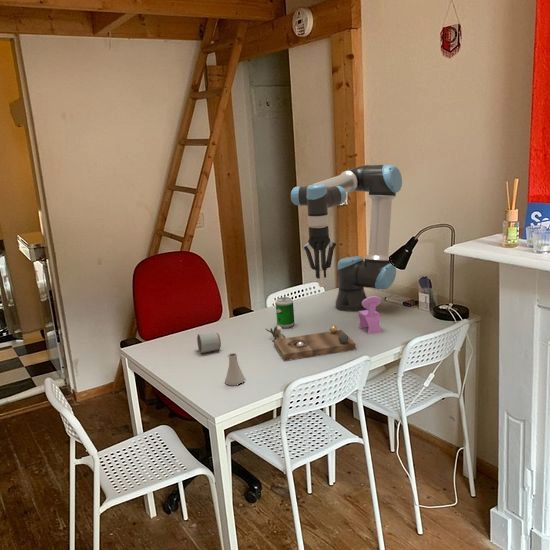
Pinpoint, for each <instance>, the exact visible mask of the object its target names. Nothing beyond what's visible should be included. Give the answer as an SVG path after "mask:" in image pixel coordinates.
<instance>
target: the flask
mask: <svg viewBox="0 0 550 550" xmlns="http://www.w3.org/2000/svg"><path fill="white" fill-rule="evenodd" d="M227 357H228V360H229V361H228V367H227V373H226V377H225V379H224V384H226V385H227V384H228V385H231V386H238V385H237V384H240V383H243V382H244V380H245V381H246V377H245V375H244V374H243V372H242V369H241V367H240V365H239V361H238V353H236V352H231V353H228V354H227ZM244 383H245V382H244ZM244 383H243V384H244ZM228 385H227V386H228ZM240 385H241V384H240Z"/></svg>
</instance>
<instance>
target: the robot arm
mask: <svg viewBox="0 0 550 550" xmlns="http://www.w3.org/2000/svg"><path fill="white" fill-rule="evenodd" d="M402 176H403V175H402V173H401V171H400V169H399V168H398V166H396V165H393V164H373V165H372V164H371V165H370V164H365V165H360V166H356V167H353V168H350V169H347V170H345V171H341V173H340V174H339V175H336V176H334V177H330V178H327V179H324V180H321V181H319V182H315V183H311V184H308V185H304V186H302V185H298V186H295V187H293V188H292V190H291V192H290V200H291V202H292V204H293V205H295V206H299V207H302V206H306V207H307V220H308V221H307V222H308V224H307V225H308V226H309V227H308V240H307V243H306V244H303V245H302V248H303V250H304V251H305V254H306V257H307V262H308V264H309V266H310V269H312V270H314V272H315V278H316V279H317V281H318V286H319V287H320V288H324V287H325V278H327V270H328V269H330V268H331V267H332V261H333V260H332V259H333V254H334V249H335V247H336V246H337V243H336V242H335V241H332V240H331V239H330V232H329V226H328V225H329V213H328V209H329V208H333V207H338V206H340V205H343V203H345V202H346V200H347V193H353V192H364V193H365V192H366V193H367V192H368V197H369V198H370V199H371V211H370V213H371V214H370V224H369V225H370V226H369V241H368V242H369V244H368V254H367V255H366V256H365V257H363V256H360V255H358V256H357V255H356V256H350V257H349V256H347V257H343V258H341V259H339V260H338V262H337V280H338V281H337V282H338V291H337V296H336V299H335V308H336V309H337V310H339V311H344V312H359V311H364V310H367V309H366V308H364V307H363V306H362V301H363V300H364V299H366V298H368V297H367V294H366V291H365V288H369V289H376V290H388V289H390V287H392V285H393V283H394V281H395V279H396V276H397V269H396V268H397V267H396V266H395V267H394V266H393V265H394V264H393V263H392V262H391V263H392V264H393V265H392V264H391V263H390V262H389V257H390V256H389V251H390V250H389V249H390V236H391V235H390V234H391V232H390V231H391V220H392V219H391V218H392V203H393V200H394V199H395V198H396V196H397V193H399V192H400V191H401V189H402V185H403V177H402ZM327 247H328V249H327ZM311 248H312V250H313V254H314V255H313V256H314V257H313V256H312V252H311V251H310V249H311ZM326 249H327V250H328V251H327V250H326ZM326 252H327V255H326ZM313 259H314V260H313Z"/></svg>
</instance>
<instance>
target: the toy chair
mask: <svg viewBox="0 0 550 550" xmlns="http://www.w3.org/2000/svg"><path fill="white" fill-rule="evenodd" d="M381 301H382V300H381V297H379V296H377V295H375V296H374V295H372V296H368V297H367V298H366V299H364V300H363V301H362V306H363V307H364V308H366V309H364V310H359V311H358V319H359V326H358V329H363V328H368V331H367V335H372V334H377V333H382V332H383V330H382V329H381V326H380V320H381V315H380V314H381V313H380V312H378V311H376V308H377V306H379V304H380V303H381Z"/></svg>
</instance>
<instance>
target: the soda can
mask: <svg viewBox="0 0 550 550" xmlns="http://www.w3.org/2000/svg"><path fill="white" fill-rule="evenodd" d="M294 308H295V307H294V301H293V299H292V298H291V297H287V296H284V297H282V296H281V297H279V298H277V300H275V313H276V314H275V315H276V325H277V326H280V327H281V328H282V329H287V328H292V327H293V325H295V313H294V312H295V309H294Z"/></svg>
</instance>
